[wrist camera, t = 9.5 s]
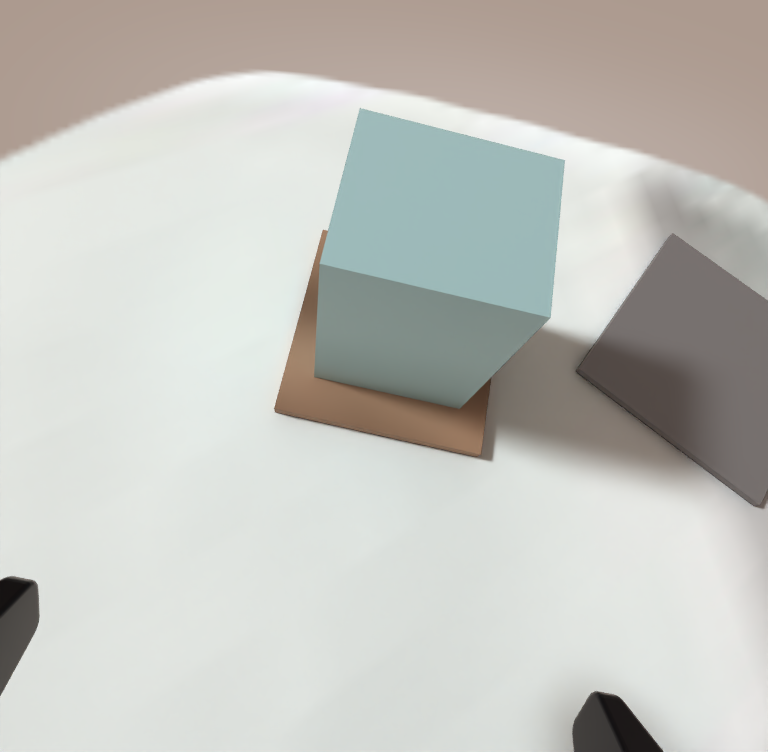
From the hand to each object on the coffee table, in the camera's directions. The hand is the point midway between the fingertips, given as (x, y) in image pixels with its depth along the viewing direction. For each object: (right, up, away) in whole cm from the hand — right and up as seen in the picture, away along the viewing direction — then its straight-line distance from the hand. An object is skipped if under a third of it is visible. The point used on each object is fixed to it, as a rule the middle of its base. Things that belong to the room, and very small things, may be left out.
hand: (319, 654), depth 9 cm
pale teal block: (+2, +6, +16) cm, 17 cm away
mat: (+17, +5, +19) cm, 26 cm away
